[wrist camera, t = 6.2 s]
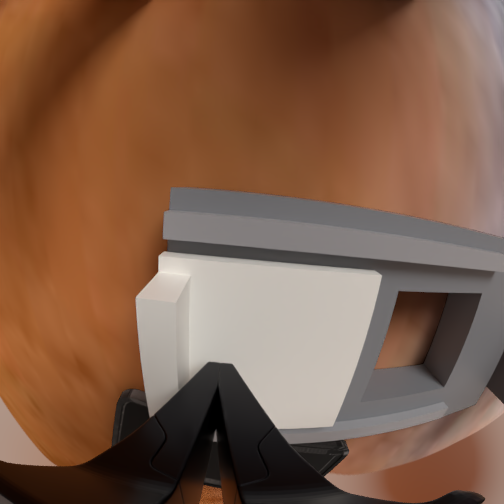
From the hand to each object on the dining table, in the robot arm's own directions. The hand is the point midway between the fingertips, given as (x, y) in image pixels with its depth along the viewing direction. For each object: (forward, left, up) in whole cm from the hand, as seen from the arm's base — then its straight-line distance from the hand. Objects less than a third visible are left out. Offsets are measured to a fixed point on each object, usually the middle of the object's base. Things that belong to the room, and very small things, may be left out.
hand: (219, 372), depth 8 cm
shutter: (-1, 0, -1) cm, 2 cm away
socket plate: (-7, 0, -4) cm, 8 cm away
